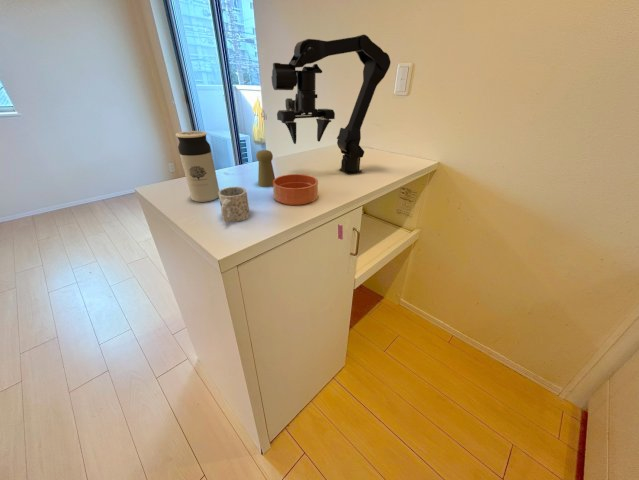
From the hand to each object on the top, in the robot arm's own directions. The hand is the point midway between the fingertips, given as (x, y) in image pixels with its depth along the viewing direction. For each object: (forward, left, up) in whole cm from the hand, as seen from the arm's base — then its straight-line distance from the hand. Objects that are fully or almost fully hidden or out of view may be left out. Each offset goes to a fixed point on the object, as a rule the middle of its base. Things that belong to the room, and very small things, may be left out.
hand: (306, 142), depth 89 cm
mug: (+32, +22, -12) cm, 41 cm away
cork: (+16, +1, -12) cm, 20 cm away
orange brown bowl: (+12, +16, -12) cm, 23 cm away
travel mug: (+36, +4, -12) cm, 38 cm away
